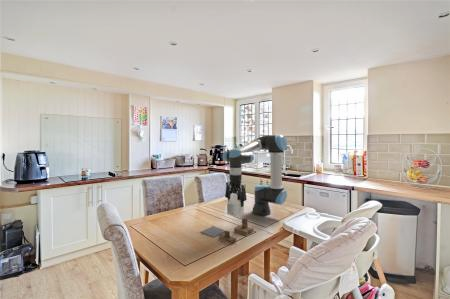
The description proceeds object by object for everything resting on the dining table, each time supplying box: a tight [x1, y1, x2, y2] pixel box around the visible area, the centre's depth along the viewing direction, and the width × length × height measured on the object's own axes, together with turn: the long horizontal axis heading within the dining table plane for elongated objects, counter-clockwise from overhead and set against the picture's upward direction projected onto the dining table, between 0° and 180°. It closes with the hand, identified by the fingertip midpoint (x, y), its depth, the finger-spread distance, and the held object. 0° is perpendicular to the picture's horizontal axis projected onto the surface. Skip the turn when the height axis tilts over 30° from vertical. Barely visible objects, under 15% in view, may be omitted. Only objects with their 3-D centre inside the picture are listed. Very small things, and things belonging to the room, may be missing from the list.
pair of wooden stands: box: [218, 217, 254, 245], centre depth 135 cm, size 23×10×8 cm, turn 140°
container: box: [226, 192, 245, 217], centre depth 133 cm, size 8×8×13 cm
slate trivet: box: [200, 225, 227, 238], centre depth 140 cm, size 12×12×1 cm
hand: (235, 210), depth 133 cm, fingers closed on container, 8 cm apart
